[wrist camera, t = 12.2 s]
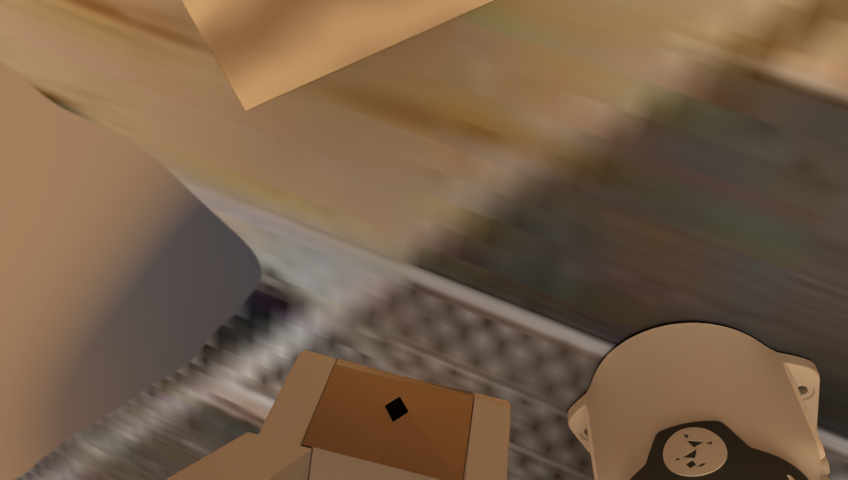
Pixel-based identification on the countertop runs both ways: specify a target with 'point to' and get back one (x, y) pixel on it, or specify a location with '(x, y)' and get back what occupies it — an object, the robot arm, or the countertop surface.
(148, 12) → the countertop surface
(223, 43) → the dial plate
